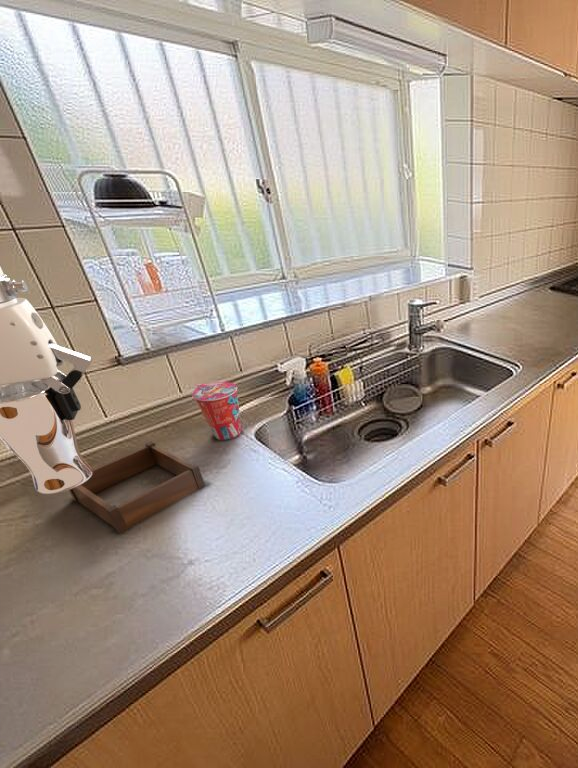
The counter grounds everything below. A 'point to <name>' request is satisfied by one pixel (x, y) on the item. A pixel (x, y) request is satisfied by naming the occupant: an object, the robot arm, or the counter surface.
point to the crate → (147, 501)
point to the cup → (220, 408)
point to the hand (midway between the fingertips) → (33, 421)
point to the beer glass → (41, 437)
